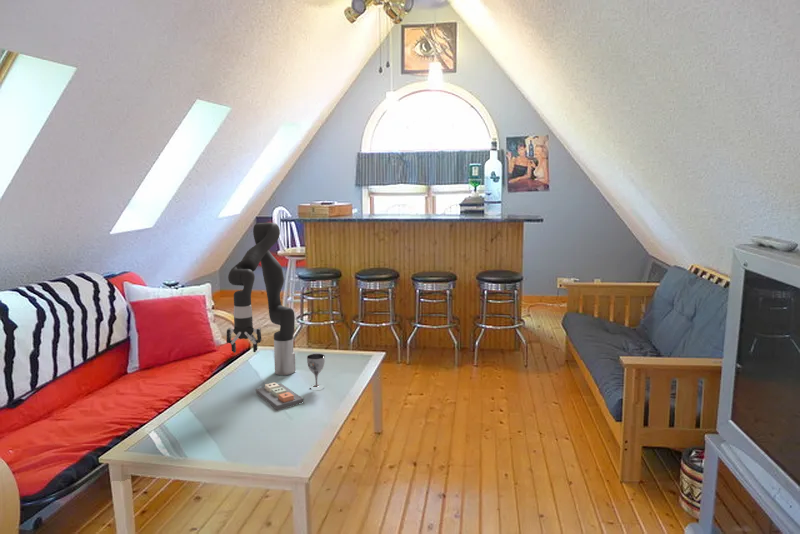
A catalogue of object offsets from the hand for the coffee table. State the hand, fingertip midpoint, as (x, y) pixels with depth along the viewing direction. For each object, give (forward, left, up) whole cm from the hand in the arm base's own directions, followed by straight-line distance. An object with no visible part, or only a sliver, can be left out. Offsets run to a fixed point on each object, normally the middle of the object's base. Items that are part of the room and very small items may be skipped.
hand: (244, 352), depth 237 cm
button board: (-12, +7, -21) cm, 26 cm away
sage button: (-12, +7, -20) cm, 24 cm away
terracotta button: (-12, +14, -20) cm, 27 cm away
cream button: (-12, 0, -20) cm, 23 cm away
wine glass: (-31, +6, -22) cm, 38 cm away
